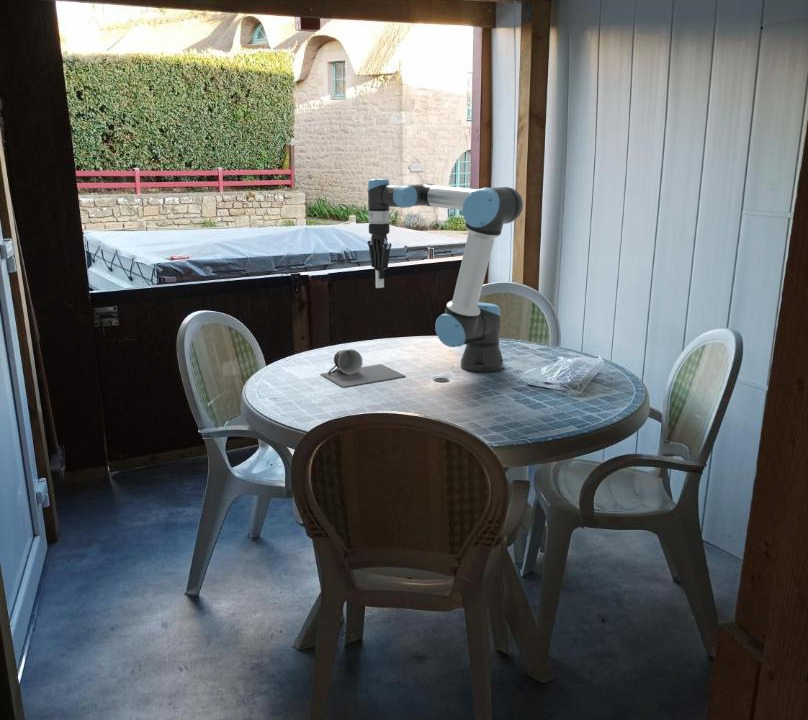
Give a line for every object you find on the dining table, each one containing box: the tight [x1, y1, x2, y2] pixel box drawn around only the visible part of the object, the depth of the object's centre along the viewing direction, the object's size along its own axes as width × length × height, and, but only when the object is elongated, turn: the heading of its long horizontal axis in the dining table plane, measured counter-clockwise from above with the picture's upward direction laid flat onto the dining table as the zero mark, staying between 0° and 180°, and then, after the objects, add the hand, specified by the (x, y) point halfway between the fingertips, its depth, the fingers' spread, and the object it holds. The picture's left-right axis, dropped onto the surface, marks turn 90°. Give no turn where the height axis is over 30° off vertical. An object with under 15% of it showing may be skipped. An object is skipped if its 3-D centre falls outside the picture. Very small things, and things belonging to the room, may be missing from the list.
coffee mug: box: [327, 349, 363, 375], centre depth 263 cm, size 12×9×10 cm
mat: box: [320, 363, 407, 388], centre depth 260 cm, size 17×24×1 cm
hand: (379, 287), depth 280 cm, fingers closed
